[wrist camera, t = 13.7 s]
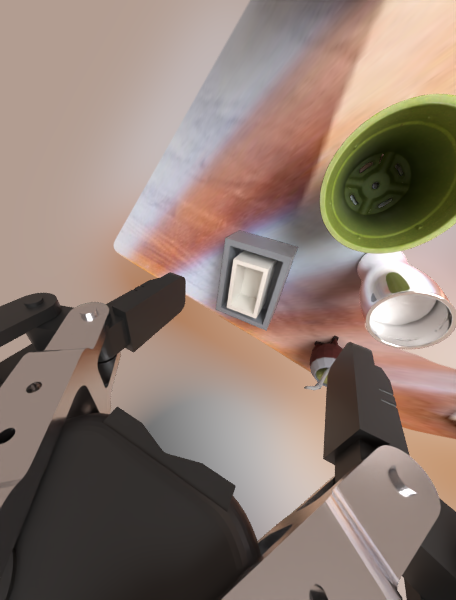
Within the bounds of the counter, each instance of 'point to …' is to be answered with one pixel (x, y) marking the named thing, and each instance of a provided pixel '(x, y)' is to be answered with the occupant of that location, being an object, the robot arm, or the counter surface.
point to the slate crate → (284, 261)
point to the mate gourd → (323, 361)
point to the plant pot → (394, 178)
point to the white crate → (250, 283)
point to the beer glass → (402, 303)
